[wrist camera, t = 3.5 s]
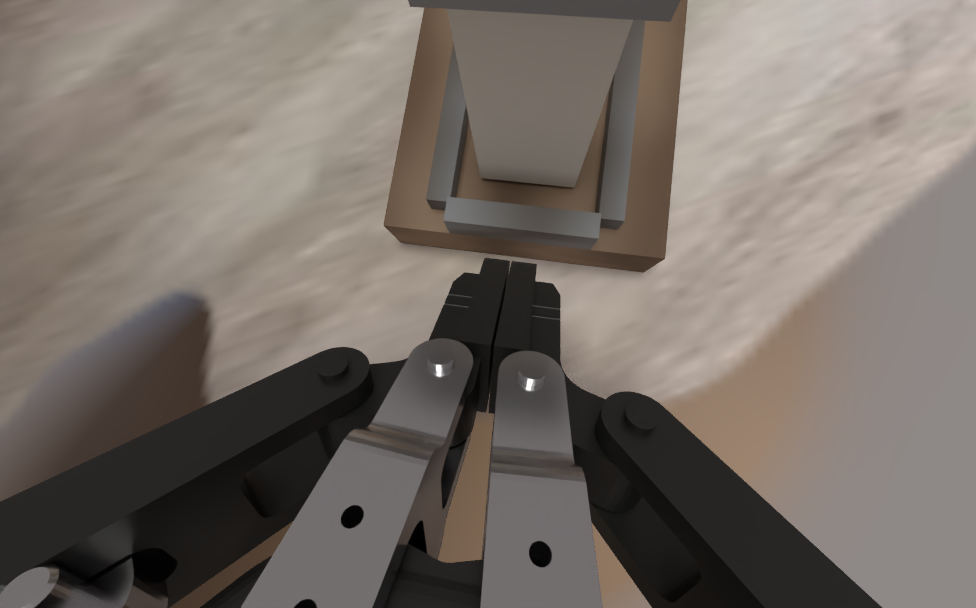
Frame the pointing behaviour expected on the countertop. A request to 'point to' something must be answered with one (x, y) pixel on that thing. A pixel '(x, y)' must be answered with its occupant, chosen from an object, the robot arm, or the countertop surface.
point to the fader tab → (539, 77)
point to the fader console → (537, 207)
